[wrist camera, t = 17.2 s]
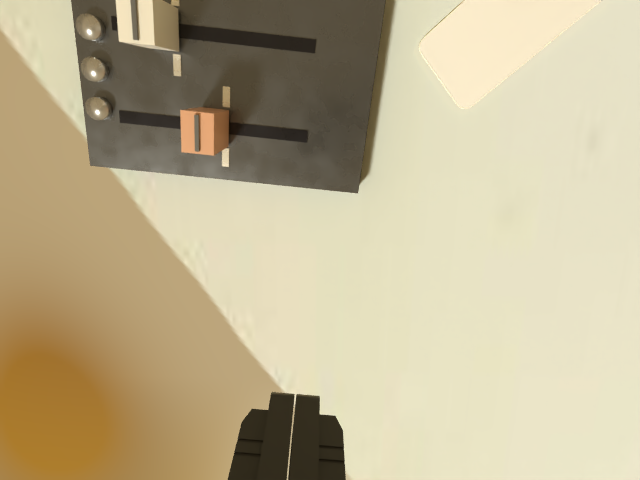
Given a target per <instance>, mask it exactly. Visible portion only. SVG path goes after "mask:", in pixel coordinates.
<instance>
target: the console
mask: <svg viewBox="0 0 640 480" xmlns="http://www.w3.org/2000/svg"><path fill="white" fill-rule="evenodd" d="M163 1H165V2H167V3H169V4H171V5H173V6H174V7H176V8H178V23H179V52H177V51H168V50H159V49H150V48H145V47H141V46H136V45H132V44H127V43H123V42H119V36H118V24H117V11H116V0H71V2H72V11H73V20H74V28H75V37H76V46H77V55H78V63H79V72H80V81H81V89H82V98H83V107H84V115H85V124H86V133H87V141H88V149H89V158H90V165H91V166H99V167H109V168H118V169H128V170H138V171H147V172H157V173H167V174H176V175H186V176H196V177H205V178H215V179H225V180H234V181H244V182H254V183H263V184H273V185H283V186H293V187H302V188H312V189H322V190H331V191H341V192H351V193H358V189H359V182H360V175H361V168H362V161H363V154H364V147H365V140H366V133H367V126H368V119H369V112H370V105H371V98H372V91H373V84H374V77H375V70H376V63H377V56H378V49H379V42H380V35H381V28H382V21H383V14H384V7H385V0H163ZM197 107H205V108H214V109H223V110H229V147H227V148H225V149H224V150H222V151H220V152H219V153H217V154H216V155H214V156H213V155H203V154H194V153H184V152H181V117H180V110H184V109H190V108H197Z"/></svg>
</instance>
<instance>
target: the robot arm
mask: <svg viewBox="0 0 640 480" xmlns="http://www.w3.org/2000/svg"><path fill="white" fill-rule="evenodd" d="M293 405H294V394H288V393H276V392H272V393H271V398H270V403H269V410H259V409H252V410H251V411H250V412H249V414H248V415H247V416H246V417H245V419H244V420H243V422H242V424H241V428H240V432H239V436H238V441H237V444H236V448H235V453H234V456H233V460H232V464H231V469H230V472H229V477H228V480H286V478H287V468H288V457H289V447H290V436H291V426H292V415H293ZM319 410H320V397H319V396H312V395H301V394H297V395H296V404H295V415H294V424H293V434H292V444H291V455H290V466H289V477H288V480H346V479H345V464H344V461H345V460H344V443H343V430H342V428H341V426H340V424H339V422H338V420H337V418H336V416H331V415H319Z"/></svg>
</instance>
